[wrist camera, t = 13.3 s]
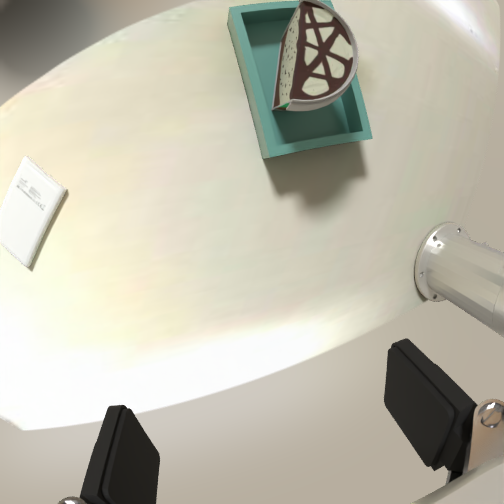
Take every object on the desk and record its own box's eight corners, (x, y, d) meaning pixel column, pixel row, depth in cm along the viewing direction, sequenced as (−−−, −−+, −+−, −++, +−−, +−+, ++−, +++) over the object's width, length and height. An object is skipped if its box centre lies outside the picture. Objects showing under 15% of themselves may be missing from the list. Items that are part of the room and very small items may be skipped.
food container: (321, 132, 33) (359, 121, 23) (269, 123, 32) (291, 105, 22) (329, 42, 30) (365, 9, 20) (281, 30, 29) (304, -9, 19)
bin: (318, 15, 29) (330, 0, 25) (355, 141, 35) (372, 138, 30) (227, 24, 29) (229, 7, 25) (262, 158, 34) (269, 157, 30)
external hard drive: (-4, 230, 32) (30, 155, 30) (32, 264, 34) (69, 188, 32) (-10, 233, 30) (23, 155, 29) (26, 268, 33) (63, 190, 31)
